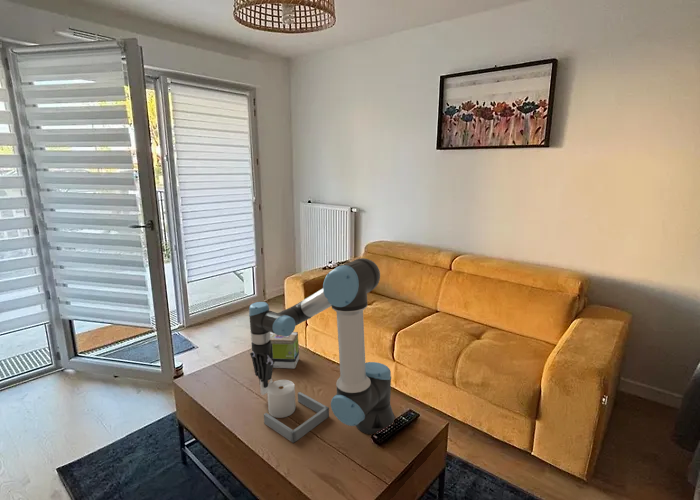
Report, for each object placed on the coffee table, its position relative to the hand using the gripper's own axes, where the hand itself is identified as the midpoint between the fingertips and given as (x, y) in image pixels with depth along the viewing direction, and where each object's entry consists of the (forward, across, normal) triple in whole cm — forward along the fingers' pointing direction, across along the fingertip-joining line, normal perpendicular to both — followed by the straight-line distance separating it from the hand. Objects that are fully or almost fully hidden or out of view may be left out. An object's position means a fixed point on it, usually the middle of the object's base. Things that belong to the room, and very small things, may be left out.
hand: (264, 393), depth 159 cm
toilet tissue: (+4, -10, 0) cm, 10 cm away
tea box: (+4, +17, -24) cm, 30 cm away
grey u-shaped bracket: (+3, -19, 0) cm, 19 cm away
